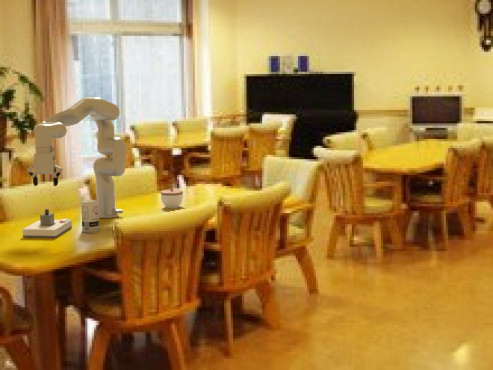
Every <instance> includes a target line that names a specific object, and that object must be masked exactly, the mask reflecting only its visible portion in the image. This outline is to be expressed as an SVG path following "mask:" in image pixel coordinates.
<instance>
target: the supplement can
mask: <svg viewBox="0 0 493 370" xmlns="http://www.w3.org/2000/svg"><path fill="white" fill-rule="evenodd" d="M80 209H81V212H80V213H81V214H80V216H81V230H82V232H83V233H86V234H92V233H97V232H99V230H100V218H99V208H98V202H97V199H85V200H82V201H81V204H80Z"/></svg>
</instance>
